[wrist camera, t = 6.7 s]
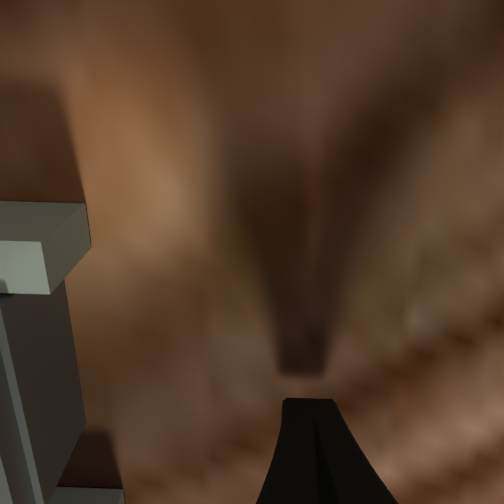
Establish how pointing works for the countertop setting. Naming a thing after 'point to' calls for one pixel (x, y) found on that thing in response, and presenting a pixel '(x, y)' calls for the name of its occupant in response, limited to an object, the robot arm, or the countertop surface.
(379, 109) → the countertop surface
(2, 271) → the deck mount
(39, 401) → the dark grey square block
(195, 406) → the countertop surface
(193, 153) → the countertop surface
